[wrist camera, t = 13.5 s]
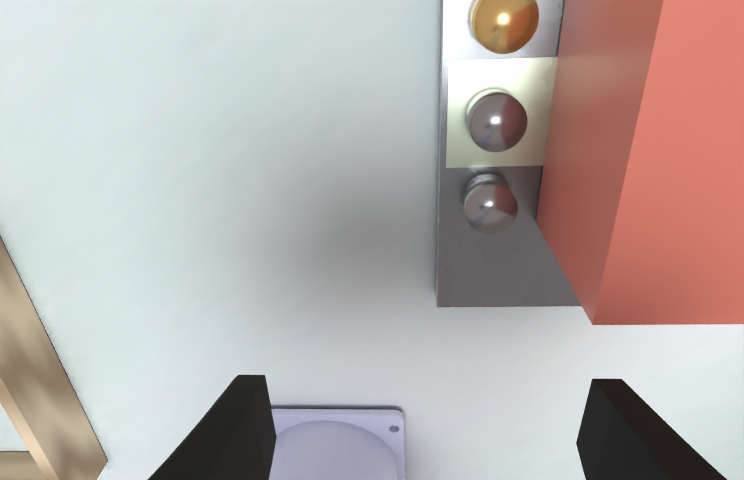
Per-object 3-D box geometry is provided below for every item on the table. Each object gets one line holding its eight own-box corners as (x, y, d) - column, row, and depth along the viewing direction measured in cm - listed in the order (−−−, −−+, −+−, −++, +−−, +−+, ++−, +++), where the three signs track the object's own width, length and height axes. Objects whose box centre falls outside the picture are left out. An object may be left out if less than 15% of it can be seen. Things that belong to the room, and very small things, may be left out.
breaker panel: (697, 290, 20) (728, 324, 18) (435, 293, 21) (439, 325, 19) (836, -119, 13) (907, -134, 12) (443, -94, 14) (450, -105, 12)
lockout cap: (697, 219, 17) (826, 323, 12) (536, 222, 18) (592, 324, 13) (776, -33, 14) (1012, -38, 8) (567, -22, 14) (668, -21, 9)
